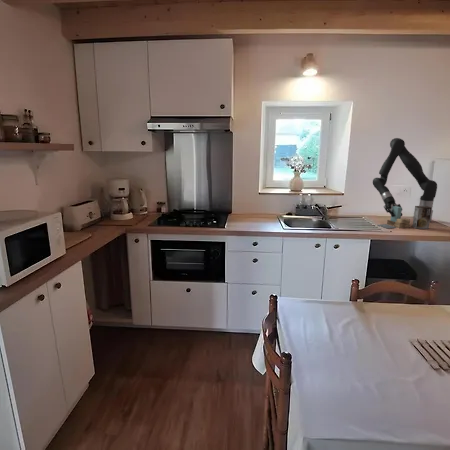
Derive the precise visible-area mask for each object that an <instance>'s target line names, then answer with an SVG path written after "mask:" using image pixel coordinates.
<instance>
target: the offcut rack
mask: <svg viewBox="0 0 450 450" xmlns="http://www.w3.org/2000/svg"><path fill="white" fill-rule="evenodd" d="M390 220H391V219H387V222H386V224H387V225H390V226H394V227H396V229H397V228H398V229H402V228H403V229H405V228H406V229H407V228H411V224H410V222H411V219H410V218H404V217H403V218H402V217H401V219H397V221H395V222H394V221H390Z"/></svg>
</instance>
